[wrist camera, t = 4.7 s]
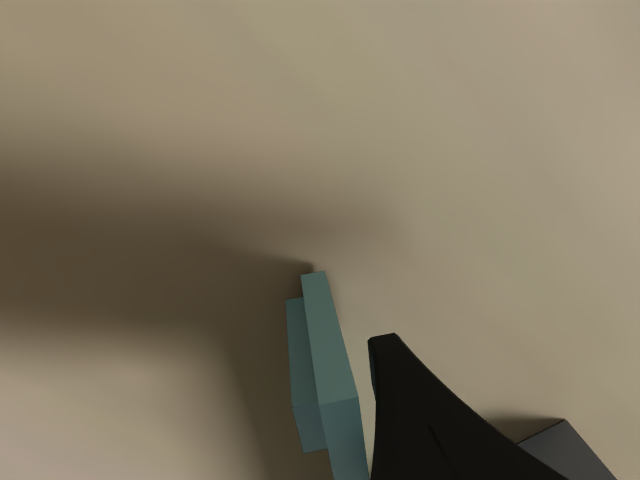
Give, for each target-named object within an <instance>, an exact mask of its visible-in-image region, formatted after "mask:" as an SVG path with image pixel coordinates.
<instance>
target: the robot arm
mask: <svg viewBox="0 0 640 480" xmlns="http://www.w3.org/2000/svg"><path fill="white" fill-rule="evenodd" d="M368 351H369V361H370V371H371V381H372V386H373V390H374V395H375V400H376V421H375V440H374V452H373V462H372V471H371V479H370V480H569V479H568V478H566V477H565V476H563V475H562V474H560V473H559V472H557V471H556V470H554V469H552V468H551V467H549V466H548V465H546V464H545V463H543V462H542V461H540V460H539V459H537V458H536V457H534V456H533V455H531V454H530V453H528V452H527V451H526V450H524V449H523V448H521V447H520V446H519V445H517V444H516V443H515V442H513V441H512V440H510V439H509V438H508V437H506V436H505V435H504V434H502V433H501V432H500V431H498V430H497V429H496V428H495V427H493V426H492V425H491V424H489V423H488V422H487V421H486V420H484V419H483V418H482V417H481V416H479V415H478V414H477V413H476V412H475V411H473V410H472V409H471V408H470V407H469V406H468V405H467V404H465V403H464V402H463V401H462V400H461V399H460V398H458V397H457V396H456V395H455V394H454V393H453V392H452V391H451V390H450V389H449V388H447V387H446V386H445V385H444V384H443V383H442V382H441V381H440V380H439V379H438V378H437V377H436V376H435V375H434V374H433V373H432V372H431V371H430V370H429V369H428V368H427V367H426V366H425V365H424V364H423V363H422V362H421V361H420V360H419V359H418V358H417V357H416V356H415V354H414V353H413V352H412V351H411V350H410V349H409V348H408V347H407V346H406V344H405V343H404V342H403V341H402V340H401V339H400V337H399V336H398V335H397V334H395V333H391V334H385V335H380V336H375V337H371V338H370V339H369V340H368Z"/></svg>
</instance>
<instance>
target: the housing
mask: <svg viewBox="0 0 640 480" xmlns="http://www.w3.org/2000/svg"><path fill="white" fill-rule="evenodd" d="M517 445H519V446H520V447H521V448H523V449H524V450H526V451H527V452H528V453H530V454H531V455H533V456H534V457H536V458H537V459H539V460H540V461H542V462H543V463H545V464H546V465H548V466H549V467H551V468H552V469H554V470H556V471H557V472H559V473H560V474H562V475H563V476H565V477H566V478H568V479H569V480H617V479H616V478H615V477H614V476H613V474H612V473H611V472H610V471H609V470H608V468H607V467H606V466H605V465H604V464H603V463H602V461H601V460H600V459H599V458H598V457H597V455H596V454H595V453H594V452H593V451H592V450H591V448H590V447H589V446H588V445H587V444H586V442H585V441H584V440H583V439H582V438H581V437H580V435H579V434H578V433H577V432H576V431H575V429H574V428H573V427H572V426H571V425H570V424H569V422H568V421H567V420H564V421H562V422H560V423H558V424H556V425H555V426H553V427H551V428H549V429H547V430H545V431H543V432H541V433H539V434H537V435H535V436H533V437H531V438H529V439H527V440H525V441H523V442H521V443H519V444H517Z"/></svg>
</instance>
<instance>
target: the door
mask: <svg viewBox="0 0 640 480" xmlns="http://www.w3.org/2000/svg"><path fill="white" fill-rule="evenodd" d="M301 282H302V289H303V296H304V297H299V298H294V299H288V300H286V317H287V334H288V351H289V368H290V385H291V402H292V410H293V414H294V418H295V422H296V426H297V430H298V434H299V437H300V441H301V445H302V449H303V453H309V452H313V451H318V450H323V449H328V453H329V458H330V463H331V468H332V473H333V478H334V480H369V474H368V467H367V459H366V451H365V443H364V436H363V428H362V420H361V413H360V405H359V397H358V393H357V390H356V386H355V382H354V378H353V375H352V371H351V367H350V363H349V360H348V356H347V352H346V348H345V344H344V341H343V337H342V333H341V329H340V326H339V322H338V318H337V314H336V311H335V307H334V303H333V299H332V296H331V292H330V288H329V284H328V281H327V277H326V273H325V271H320V272H315V273H309V274H304V275H301Z"/></svg>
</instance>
